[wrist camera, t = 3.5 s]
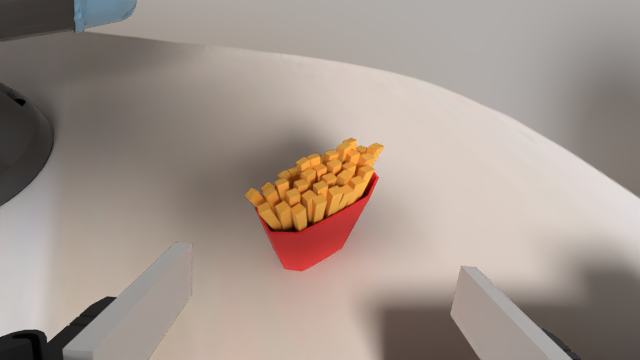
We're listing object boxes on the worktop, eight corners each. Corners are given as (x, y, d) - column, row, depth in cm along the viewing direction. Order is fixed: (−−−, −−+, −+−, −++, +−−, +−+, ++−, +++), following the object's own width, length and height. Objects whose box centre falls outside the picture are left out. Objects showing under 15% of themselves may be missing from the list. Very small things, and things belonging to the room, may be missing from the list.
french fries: (337, 204, 29) (363, 114, 18) (361, 239, 27) (404, 161, 17) (254, 247, 26) (232, 168, 16) (275, 288, 24) (266, 231, 14)
